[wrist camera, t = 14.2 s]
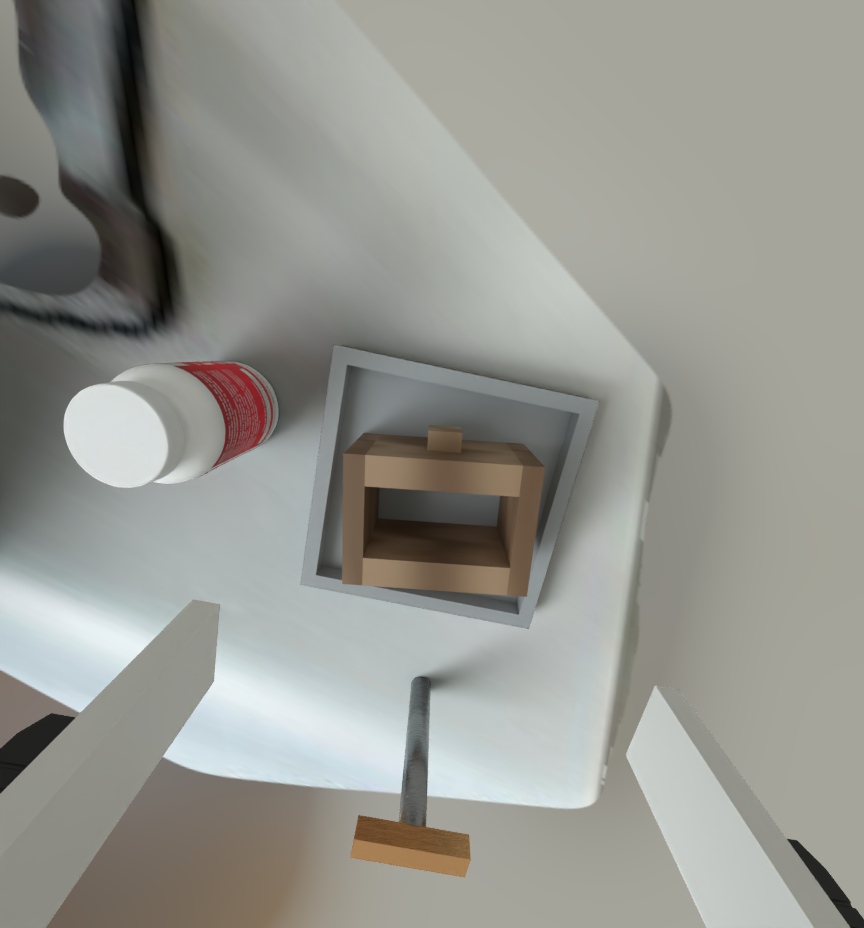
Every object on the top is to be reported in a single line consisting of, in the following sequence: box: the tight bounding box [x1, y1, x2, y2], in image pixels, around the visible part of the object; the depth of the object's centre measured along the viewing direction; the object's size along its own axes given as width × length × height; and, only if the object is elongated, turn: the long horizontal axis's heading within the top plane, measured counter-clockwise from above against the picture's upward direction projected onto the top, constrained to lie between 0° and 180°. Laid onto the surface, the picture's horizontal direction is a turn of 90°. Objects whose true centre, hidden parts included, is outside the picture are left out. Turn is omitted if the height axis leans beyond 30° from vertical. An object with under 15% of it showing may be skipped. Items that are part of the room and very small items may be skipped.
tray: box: [300, 345, 599, 629], centre depth 29 cm, size 17×17×2 cm
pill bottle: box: [64, 361, 279, 488], centre depth 23 cm, size 6×6×11 cm
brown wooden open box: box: [342, 425, 545, 597], centre depth 26 cm, size 11×9×6 cm
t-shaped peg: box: [351, 677, 470, 877], centre depth 28 cm, size 6×2×12 cm, turn 78°
